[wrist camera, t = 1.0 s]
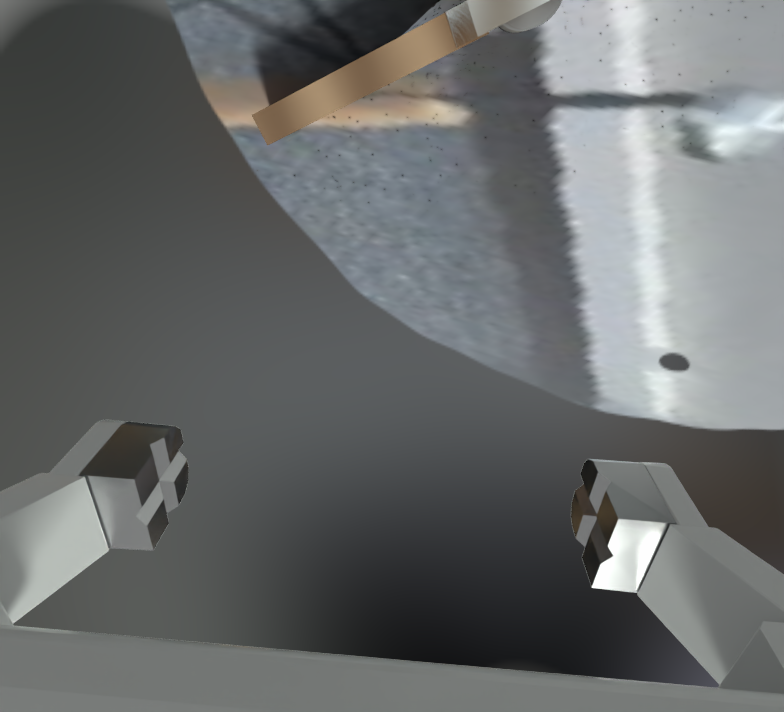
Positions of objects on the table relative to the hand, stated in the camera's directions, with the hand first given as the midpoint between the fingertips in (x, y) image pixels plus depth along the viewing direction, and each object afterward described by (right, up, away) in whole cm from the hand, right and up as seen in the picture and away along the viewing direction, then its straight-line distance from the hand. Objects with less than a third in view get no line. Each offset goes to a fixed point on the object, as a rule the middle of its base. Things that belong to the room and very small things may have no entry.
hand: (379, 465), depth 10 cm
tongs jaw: (+1, +22, +24) cm, 33 cm away
